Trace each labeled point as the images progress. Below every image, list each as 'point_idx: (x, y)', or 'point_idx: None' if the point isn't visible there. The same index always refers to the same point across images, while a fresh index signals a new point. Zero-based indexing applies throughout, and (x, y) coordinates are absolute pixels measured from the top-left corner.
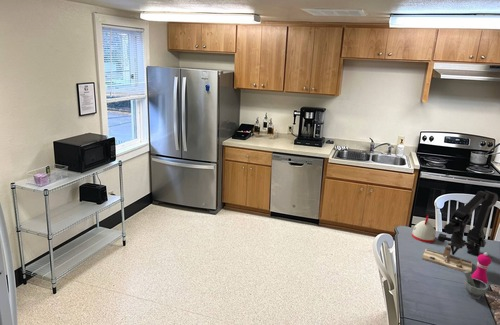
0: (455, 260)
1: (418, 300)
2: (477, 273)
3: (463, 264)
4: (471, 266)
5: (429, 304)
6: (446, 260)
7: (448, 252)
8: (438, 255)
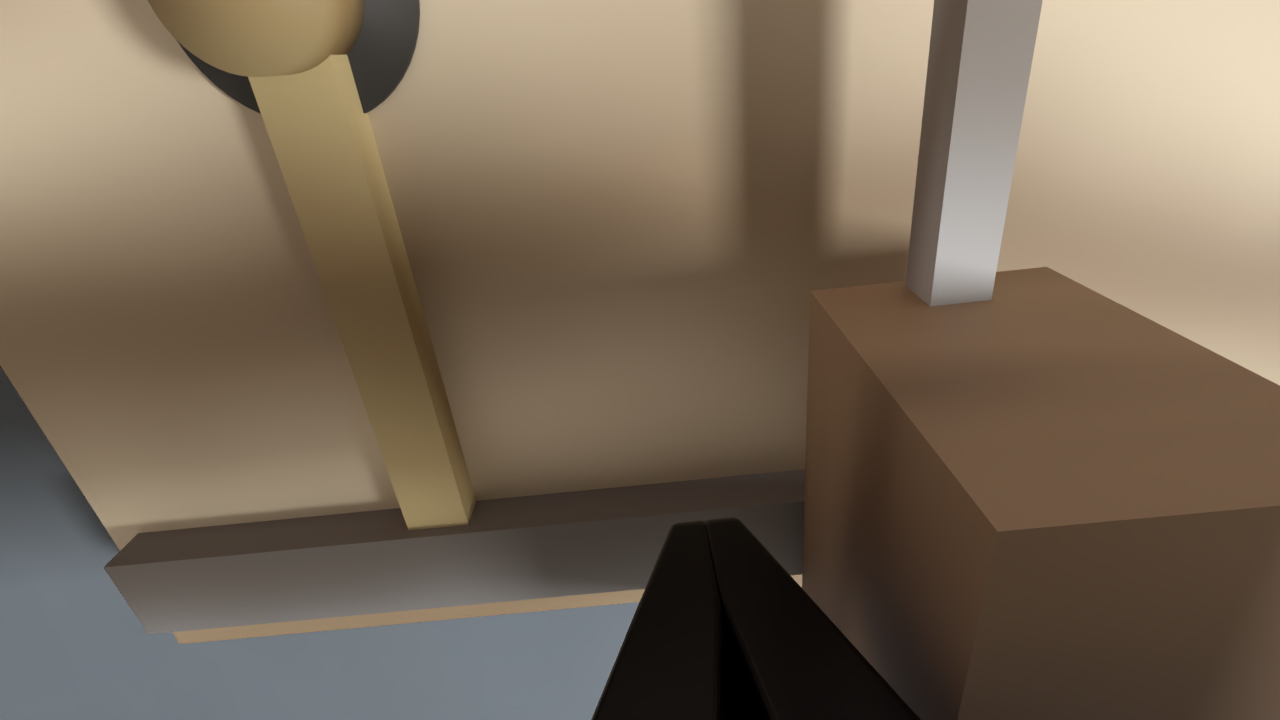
0: (570, 398)
1: None
2: None
3: (258, 302)
4: (15, 361)
5: None
6: (858, 146)
7: (1038, 434)
8: None
